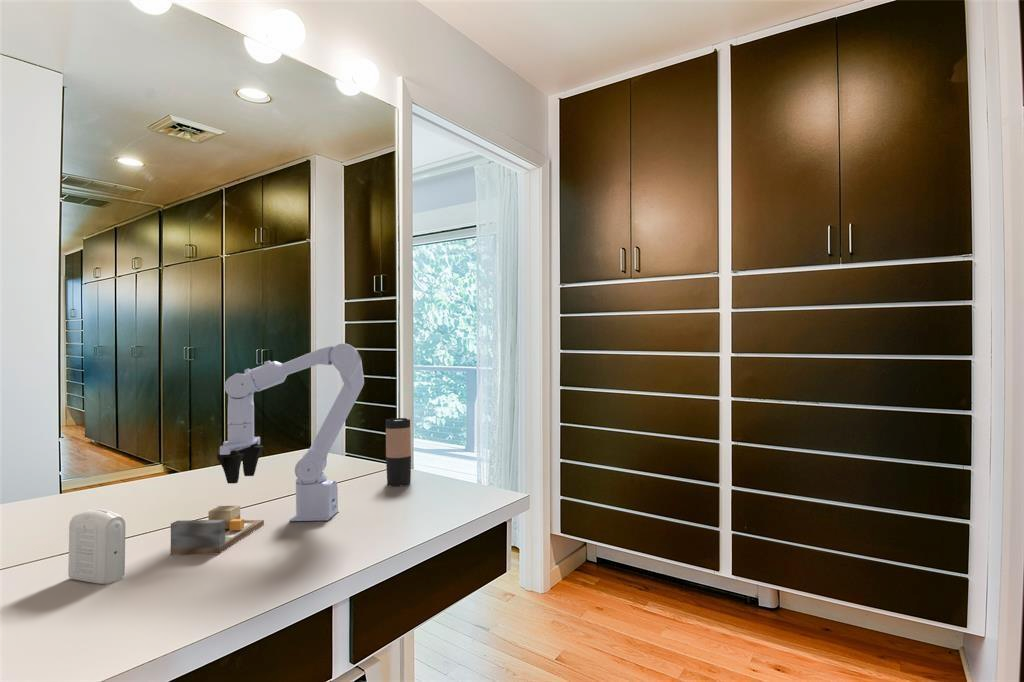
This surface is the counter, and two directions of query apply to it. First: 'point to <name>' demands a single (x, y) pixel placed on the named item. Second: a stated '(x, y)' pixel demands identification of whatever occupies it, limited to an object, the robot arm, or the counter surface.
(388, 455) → the travel mug
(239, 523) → the block
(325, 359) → the robot arm
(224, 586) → the counter surface
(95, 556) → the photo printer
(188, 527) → the base
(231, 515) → the tan rectangular block
